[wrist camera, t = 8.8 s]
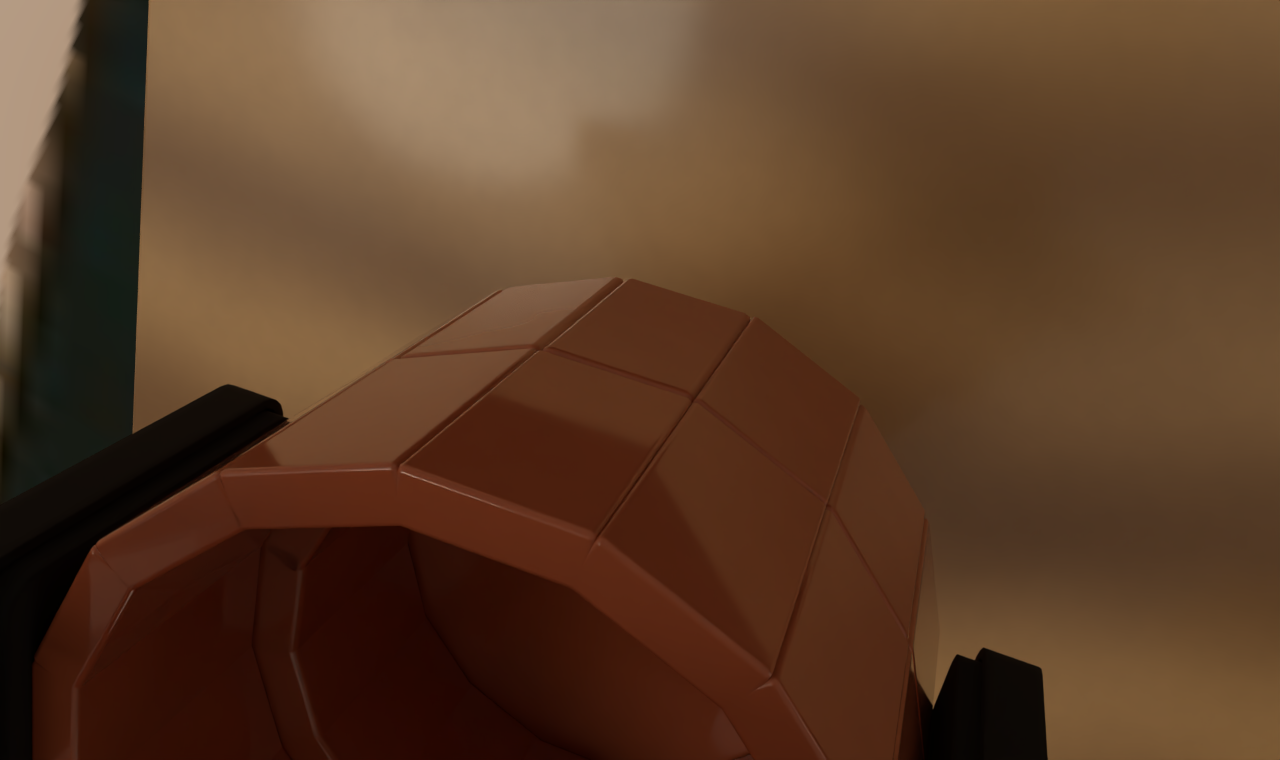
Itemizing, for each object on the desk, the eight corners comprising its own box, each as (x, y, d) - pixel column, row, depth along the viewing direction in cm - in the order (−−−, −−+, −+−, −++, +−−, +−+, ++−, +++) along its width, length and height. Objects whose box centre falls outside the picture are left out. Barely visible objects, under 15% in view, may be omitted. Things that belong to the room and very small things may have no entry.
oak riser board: (338, -256, 21) (158, -314, 17) (1630, 34, 17) (1852, 60, 13) (269, 479, 28) (125, 580, 23) (1198, 820, 23) (1244, 1024, 19)
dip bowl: (410, 189, 13) (28, 333, 8) (1031, 377, 11) (1054, 699, 6) (342, 680, 15) (27, 1022, 10) (836, 877, 14) (747, 1374, 9)
